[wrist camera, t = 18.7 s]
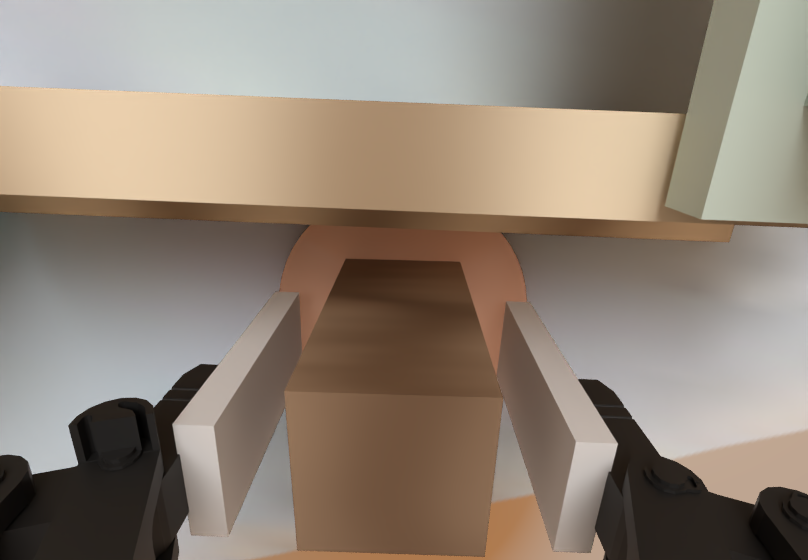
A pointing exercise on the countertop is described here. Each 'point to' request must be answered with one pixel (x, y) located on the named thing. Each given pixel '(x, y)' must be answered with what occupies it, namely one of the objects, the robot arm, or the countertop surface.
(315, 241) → the terracotta coaster
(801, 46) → the sliding lid
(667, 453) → the countertop surface
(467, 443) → the walnut block
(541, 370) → the robot arm
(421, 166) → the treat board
